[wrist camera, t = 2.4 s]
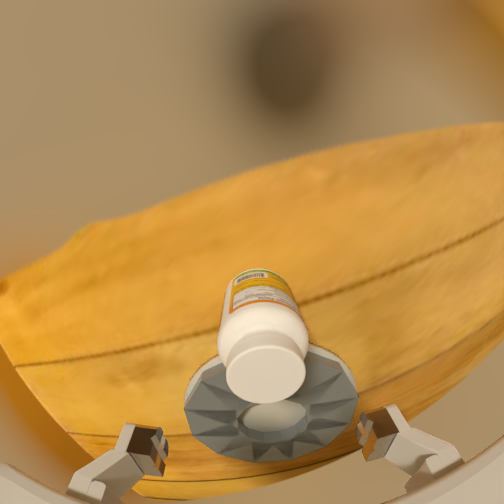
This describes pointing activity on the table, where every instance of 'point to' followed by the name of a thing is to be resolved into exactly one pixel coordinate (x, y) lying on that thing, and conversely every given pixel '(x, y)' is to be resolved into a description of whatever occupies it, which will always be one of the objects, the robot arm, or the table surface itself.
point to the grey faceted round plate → (272, 411)
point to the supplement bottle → (262, 338)
